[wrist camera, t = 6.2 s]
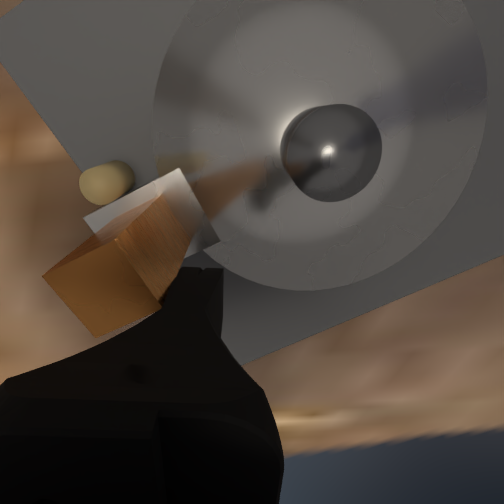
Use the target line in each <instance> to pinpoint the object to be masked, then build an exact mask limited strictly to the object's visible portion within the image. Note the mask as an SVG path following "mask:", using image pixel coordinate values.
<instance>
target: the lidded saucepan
mask: <svg viewBox="0 0 504 504" xmlns="http://www.w3.org/2000/svg"><path fill="white" fill-rule="evenodd" d="M487 97H488V88H487V75H486V65H485V61H484V56H483V51H482V47H481V42H480V40H479V37H478V34H477V31H476V29H475V26H474V23H473V21H472V18H471V16H470V15H469V13H468V11H467V9H466V7H465V6H464V4H463V2H462V0H196V2H195V3H194V4H193V6H192V7H191V8H190V9H189V11H188V12H187V13H186V15H185V17H184V18H183V20H182V22H181V24H180V25H179V27H178V29H177V31H176V32H175V34H174V36H173V38H172V40H171V42H170V45H169V47H168V50H167V52H166V55H165V57H164V60H163V62H162V66H161V69H160V73H159V77H158V81H157V84H156V89H155V96H154V104H153V111H152V140H153V148H154V157H155V162H156V166H157V171H158V175H159V177H158V178H156V179H154V180H152V181H150V182H148V183H146V184H144V185H142V186H140V187H138V188H137V189H135V190H133V191H131V192H129V193H127V194H125V195H123V196H121V197H119V198H117V199H115V200H114V201H112V202H111V203H109V204H106V205H104V206H102V207H100V208H98V209H96V210H94V211H93V212H91V213H90V214H88V215H87V216H85V217H83V219H84V220H85V221H86V223H87V224H88V225H89V227H90V228H91V229H92V231H93V232H94V233H95V234H94V235H93V236H91V237H90V238H89V239H87V240H86V241H85V242H84V243H82V244H81V245H80V246H79V247H77V248H76V249H75V250H74V251H72V252H71V253H70V254H69V255H67V256H66V257H65V258H64V259H62V260H61V261H60V262H59V263H57V264H56V265H55V266H54V267H52V268H51V269H50V270H49V271H47V272H46V273H45V274H44V275H42V277H43V278H44V279H45V281H46V282H47V283H48V284H49V285H50V286H51V288H52V289H53V290H54V291H55V292H56V293H57V294H58V296H59V297H60V298H61V299H62V300H63V301H64V302H65V304H66V305H67V306H68V307H69V308H70V309H71V310H72V312H73V313H74V314H75V315H76V316H77V317H78V318H79V320H80V321H81V322H82V323H83V324H84V325H85V326H86V328H87V329H88V330H89V331H90V332H91V333H92V335H93V336H94V337H95V338H97V337H100V336H102V335H104V334H106V333H109V332H111V331H113V330H115V329H118V328H120V327H122V326H124V325H127V324H129V323H131V322H134V321H136V320H138V319H140V318H143V317H145V316H147V315H149V314H152V313H154V312H156V311H158V310H160V309H161V308H162V306H163V304H164V301H165V299H166V296H167V293H168V291H169V288H170V286H171V283H172V281H173V280H174V278H175V277H176V276H177V274H178V271H179V269H180V266H181V264H182V262H183V259H184V258H186V257H189V256H191V255H193V254H195V253H197V252H199V251H201V250H203V251H204V252H205V253H207V254H208V255H209V256H210V257H211V258H212V259H214V260H215V261H216V262H218V263H219V264H221V265H222V266H224V267H225V268H227V269H228V270H230V271H231V272H233V273H235V274H237V275H239V276H241V277H243V278H245V279H248V280H251V281H254V282H256V283H259V284H262V285H266V286H270V287H275V288H279V289H287V290H296V291H307V290H323V289H331V288H336V287H340V286H345V285H349V284H352V283H355V282H358V281H361V280H363V279H366V278H369V277H371V276H373V275H375V274H377V273H379V272H381V271H383V270H385V269H387V268H388V267H390V266H392V265H393V264H395V263H397V262H398V261H400V260H401V259H403V258H404V257H405V256H407V255H408V254H409V253H411V252H412V251H413V250H415V249H416V248H417V247H418V246H419V245H420V244H421V243H422V242H423V241H424V240H425V239H427V238H428V237H429V236H430V235H431V234H432V233H433V231H434V230H435V229H436V228H437V227H438V226H439V224H440V223H441V222H442V221H443V220H444V219H445V217H446V216H447V214H448V213H449V212H450V210H451V209H452V207H453V206H454V204H455V203H456V201H457V200H458V198H459V196H460V194H461V193H462V191H463V189H464V187H465V185H466V183H467V182H468V179H469V177H470V174H471V172H472V170H473V167H474V165H475V162H476V160H477V156H478V153H479V149H480V146H481V143H482V139H483V134H484V128H485V122H486V116H487Z"/></svg>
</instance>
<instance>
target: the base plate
mask: <svg viewBox="0 0 504 504" xmlns="http://www.w3.org/2000/svg"><path fill="white" fill-rule="evenodd" d="M195 2H196V0H24V1H23V2H21V3H20V4H19V5H17V6H16V7H15V8H13V9H12V10H10V11H9V12H8V13H6V14H5V15H4V16H2V17H1V18H0V62H1V64H2V65H3V66H4V68H5V69H6V70H7V72H8V73H9V74H10V76H11V77H12V78H13V80H14V81H15V82H16V84H17V85H18V87H19V88H20V89H21V91H22V92H23V93H24V95H25V96H26V97H27V99H28V100H29V101H30V103H31V104H32V105H33V107H34V108H35V110H36V111H37V112H38V114H39V115H40V116H41V118H42V119H43V120H44V122H45V123H46V124H47V126H48V127H49V128H50V130H51V131H52V132H53V134H54V135H55V137H56V138H57V139H58V141H59V142H60V143H61V145H62V146H63V147H64V149H65V150H66V151H67V153H68V154H69V155H70V157H71V158H72V160H73V161H74V162H75V164H76V165H77V166H78V168H79V169H80V170H81V172H82V175H81V176H80V179H79V187H80V190H81V192H82V194H83V196H84V197H85V198H86V199H87V200H89V201H90V202H92V203H94V204H97V205H106V204H109V203H111V202H112V201H114V200H115V199H117V198H119V197H121V196H123V195H125V194H127V193H129V192H131V191H133V190H135V189H137V188H138V187H140V186H142V185H144V184H146V183H148V182H150V181H152V180H154V179H156V178H158V177H159V175H158V171H157V166H156V162H155V157H154V148H153V140H152V111H153V104H154V96H155V89H156V84H157V81H158V77H159V73H160V69H161V66H162V62H163V60H164V57H165V55H166V52H167V50H168V47H169V45H170V42H171V40H172V38H173V36H174V34H175V32H176V31H177V29H178V27H179V25H180V24H181V22H182V20H183V18H184V17H185V15H186V13H187V12H188V11H189V9H190V8H191V7H192V6H193V4H194V3H195ZM462 2H463V4H464V6H465V7H466V9H467V11H468V13H469V15H470V16H471V18H472V21H473V23H474V26H475V29H476V31H477V34H478V37H479V40H480V42H481V47H482V51H483V56H484V61H485V65H486V75H487V88H488V97H487V116H486V122H485V128H484V134H483V139H482V143H481V146H480V149H479V153H478V156H477V160H476V162H475V165H474V167H473V170H472V172H471V174H470V177H469V179H468V182H467V183H466V185H465V187H464V189H463V191H462V193H461V194H460V196H459V198H458V200H457V201H456V203H455V204H454V206H453V207H452V209H451V210H450V212H449V213H448V214H447V216H446V217H445V219H444V220H443V221H442V222H441V223H440V224H439V226H438V227H437V228H436V229H435V230H434V231H433V233H432V234H431V235H430V236H429V237H428V238H427V239H425V240H424V241H423V242H422V243H421V244H420V245H419V246H418V247H417V248H416V249H415V250H413V251H412V252H411V253H409V254H408V255H407V256H405V257H404V258H403V259H401V260H400V261H398V262H397V263H395V264H393V265H392V266H390V267H388V268H387V269H385V270H383V271H381V272H379V273H377V274H375V275H373V276H371V277H369V278H366V279H363V280H361V281H358V282H355V283H352V284H349V285H345V286H340V287H336V288H331V289H323V290H307V291H296V290H287V289H279V288H275V287H270V286H266V285H262V284H259V283H256V282H254V281H251V280H248V279H245V278H243V277H241V276H239V275H237V274H235V273H233V272H231V271H230V270H228V269H227V268H225V267H224V266H222V265H221V264H219V263H218V262H216V261H215V260H214V259H212V258H211V257H210V256H209V255H208V254H207V253H205V252H204V251H203V250H201V251H199V252H197V253H195V254H193V255H191V256H189V257H186V258H184V259H183V262H182V264H181V266H180V268H181V267H201V268H202V270H204V269H205V268H224V288H223V323H222V333H221V339H222V340H223V342H224V343H225V345H226V346H227V348H228V349H229V351H230V352H231V354H232V355H233V357H234V358H235V359H236V361H237V362H238V363H239V364H240V365H244V364H246V363H248V362H251V361H253V360H255V359H258V358H260V357H263V356H265V355H267V354H270V353H272V352H274V351H277V350H279V349H281V348H284V347H286V346H289V345H291V344H293V343H296V342H298V341H300V340H303V339H305V338H308V337H310V336H312V335H315V334H317V333H319V332H322V331H324V330H326V329H329V328H331V327H334V326H336V325H338V324H341V323H343V322H345V321H348V320H350V319H353V318H355V317H357V316H360V315H362V314H364V313H367V312H369V311H371V310H374V309H376V308H379V307H381V306H383V305H386V304H388V303H390V302H393V301H395V300H397V299H400V298H402V297H405V296H407V295H409V294H412V293H414V292H416V291H419V290H421V289H424V288H426V287H428V286H431V285H433V284H435V283H438V282H440V281H442V280H445V279H447V278H450V277H452V276H454V275H457V274H459V273H461V272H464V271H466V270H469V269H471V268H473V267H476V266H478V265H480V264H483V263H485V262H487V261H490V260H492V259H495V258H497V257H499V256H502V255H504V0H462Z"/></svg>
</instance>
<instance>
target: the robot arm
mask: <svg viewBox="0 0 504 504" xmlns="http://www.w3.org/2000/svg"><path fill="white" fill-rule="evenodd" d="M223 288H224V268H205V269H204V270H202V268H201V267H181V268H180V269H179V271H178V274H177V276H176V277H175V278H174V280H173V281H172V283H171V286H170V288H169V291H168V293H167V296H166V299H165V301H164V304H163V306H162V308H161V309H160V310H158V311H157V312H155V313H154V314H152V315H151V316H149V317H148V318H146V319H145V320H143V321H142V322H140V323H138V324H137V325H135V326H133V327H131V328H130V329H128V330H126V331H124V332H122V333H120V334H118V335H116V336H115V337H113V338H111V339H109V340H107V341H105V342H103V343H101V344H98V345H96V346H94V347H92V348H90V349H87V350H85V351H83V352H80V353H78V354H75V355H73V356H71V357H68V358H65V359H63V360H60V361H58V362H55V363H52V364H49V365H46V366H43V367H40V368H37V369H34V370H32V371H29V372H26V373H23V374H20V375H17V376H14V377H10V378H7V379H6V380H5V381H4V382H3V383H2V384H1V385H0V504H279V499H280V492H281V485H282V479H283V473H284V456H283V450H282V445H281V440H280V436H279V432H278V429H277V426H276V422H275V419H274V417H273V414H272V411H271V408H270V405H269V403H268V400H267V398H266V395H265V393H264V390H263V389H262V388H261V387H260V386H259V385H258V384H257V383H256V382H255V381H254V380H253V379H252V378H251V377H250V376H249V375H248V374H247V373H246V371H245V370H244V369H243V368H242V367H241V365H240V364H239V363H238V362H237V361H236V359H235V358H234V357H233V355H232V354H231V352H230V351H229V349H228V348H227V346H226V345H225V343H224V342H223V340H222V339H221V333H222V323H223Z"/></svg>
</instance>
